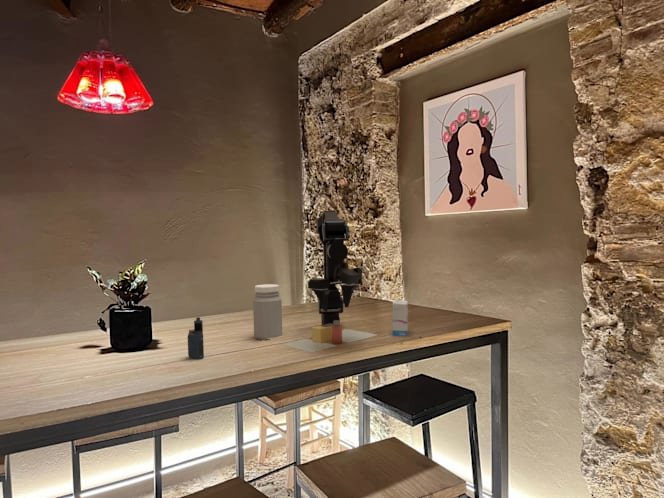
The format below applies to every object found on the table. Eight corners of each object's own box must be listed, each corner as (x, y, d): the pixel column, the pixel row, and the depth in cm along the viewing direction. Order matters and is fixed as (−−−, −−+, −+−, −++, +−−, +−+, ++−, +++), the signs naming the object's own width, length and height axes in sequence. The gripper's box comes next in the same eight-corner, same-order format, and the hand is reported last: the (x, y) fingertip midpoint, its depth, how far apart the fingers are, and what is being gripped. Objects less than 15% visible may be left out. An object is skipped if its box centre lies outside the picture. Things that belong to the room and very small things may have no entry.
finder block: (312, 341, 154) (311, 326, 154) (330, 337, 160) (329, 322, 159) (320, 343, 151) (320, 328, 151) (338, 338, 157) (338, 324, 157)
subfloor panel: (280, 347, 151) (280, 344, 151) (347, 331, 172) (347, 329, 172) (311, 355, 141) (311, 352, 141) (378, 337, 162) (378, 334, 161)
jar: (288, 336, 166) (287, 284, 165) (266, 342, 159) (264, 288, 158) (270, 333, 172) (268, 283, 172) (248, 338, 165) (246, 286, 164)
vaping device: (199, 360, 138) (197, 318, 138) (186, 357, 141) (185, 317, 141) (205, 357, 141) (204, 317, 140) (193, 355, 143) (192, 315, 143)
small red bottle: (330, 343, 151) (329, 321, 151) (337, 341, 154) (336, 319, 153) (337, 344, 149) (336, 322, 149) (344, 342, 151) (343, 320, 151)
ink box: (407, 339, 159) (406, 303, 158) (392, 338, 160) (391, 303, 159) (408, 333, 167) (408, 299, 167) (394, 333, 168) (393, 299, 168)
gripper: (332, 262, 138) (333, 316, 139) (374, 258, 151) (375, 307, 152) (306, 261, 146) (307, 312, 146) (348, 257, 159) (349, 304, 160)
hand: (336, 309), depth 151 cm, fingers open, 9 cm apart
